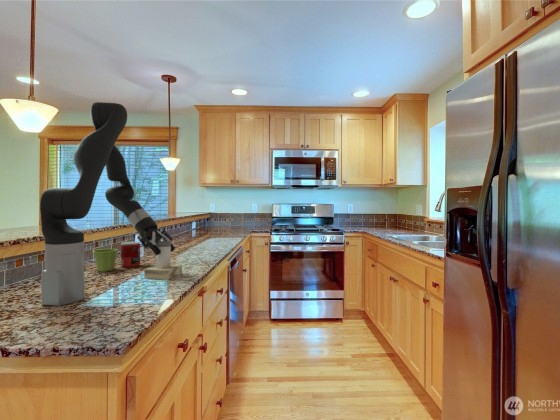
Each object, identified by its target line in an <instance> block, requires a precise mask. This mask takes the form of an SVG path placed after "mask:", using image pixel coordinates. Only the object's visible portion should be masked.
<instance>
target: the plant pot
mask: <svg viewBox="0 0 560 420" xmlns="http://www.w3.org/2000/svg"><path fill="white" fill-rule="evenodd" d="M118 251H119V249H118V248H102V249H101V248H100V249H95V250H92V251H91V252H92V253H93V256H94V259H95V266H96V272H102V273H103V272H108V271H113V270H115V269H114V268H115V265H116V264H115V262H116V257H117V253H118Z"/></svg>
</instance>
